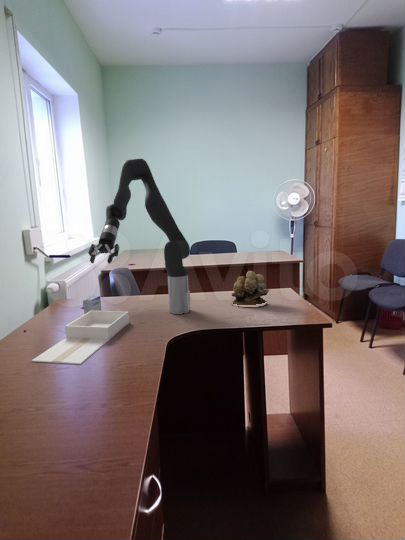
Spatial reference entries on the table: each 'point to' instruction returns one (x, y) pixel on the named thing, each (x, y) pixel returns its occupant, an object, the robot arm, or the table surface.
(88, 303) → the medicine box
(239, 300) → the brown lumpy mound
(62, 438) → the table surface
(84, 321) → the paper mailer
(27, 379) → the table surface
